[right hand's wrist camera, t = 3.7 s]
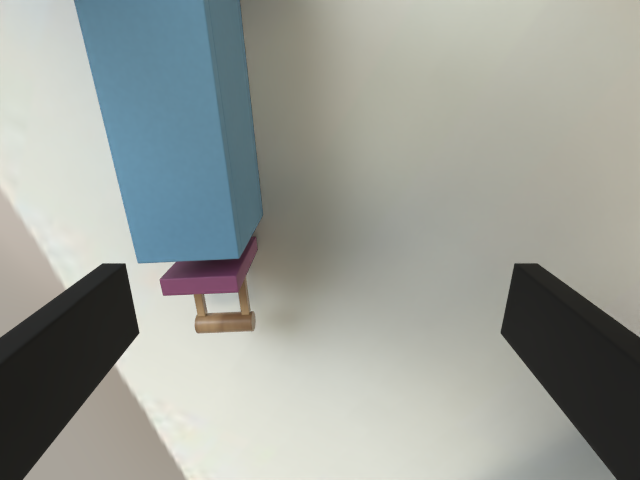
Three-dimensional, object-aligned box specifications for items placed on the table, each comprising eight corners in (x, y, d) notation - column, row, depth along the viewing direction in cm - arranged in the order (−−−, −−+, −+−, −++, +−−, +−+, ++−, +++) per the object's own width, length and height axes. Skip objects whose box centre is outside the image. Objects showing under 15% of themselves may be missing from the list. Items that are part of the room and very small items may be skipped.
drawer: (264, 306, 32) (248, 361, 25) (209, 308, 32) (178, 364, 25) (223, -37, 24) (182, -99, 17) (148, -33, 24) (75, -92, 17)
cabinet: (263, 215, 30) (239, 259, 22) (190, 218, 30) (137, 264, 22) (228, -105, 23) (171, -235, 14) (133, -99, 23) (18, -224, 14)
